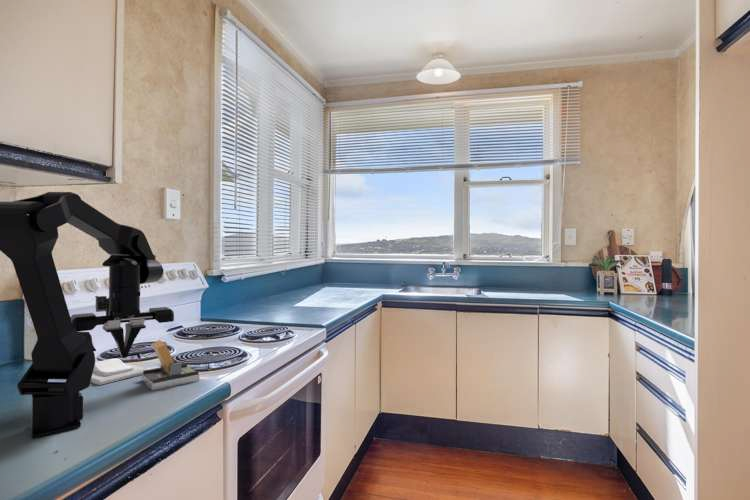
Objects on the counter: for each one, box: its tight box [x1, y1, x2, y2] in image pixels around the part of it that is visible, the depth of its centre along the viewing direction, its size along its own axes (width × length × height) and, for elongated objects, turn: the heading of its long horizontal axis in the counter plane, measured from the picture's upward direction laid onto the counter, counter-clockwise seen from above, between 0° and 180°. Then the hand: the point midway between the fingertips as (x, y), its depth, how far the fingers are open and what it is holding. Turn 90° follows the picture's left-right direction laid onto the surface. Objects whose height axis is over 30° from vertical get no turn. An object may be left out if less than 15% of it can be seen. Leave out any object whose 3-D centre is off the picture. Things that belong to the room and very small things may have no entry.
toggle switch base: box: [141, 355, 200, 391], centre depth 93 cm, size 10×9×5 cm
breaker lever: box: [151, 339, 175, 373], centre depth 92 cm, size 2×5×8 cm, turn 42°
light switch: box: [90, 358, 149, 386], centre depth 97 cm, size 11×4×13 cm
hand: (123, 357), depth 87 cm, fingers closed
